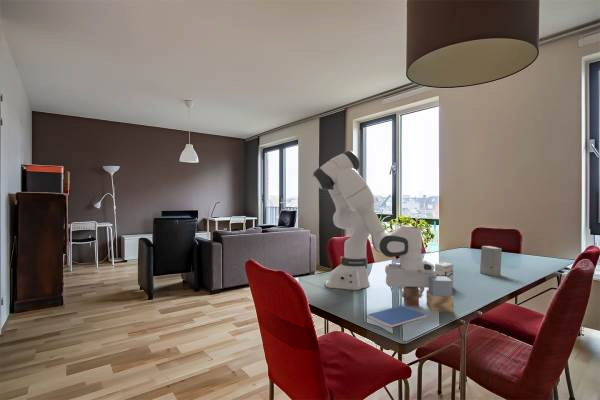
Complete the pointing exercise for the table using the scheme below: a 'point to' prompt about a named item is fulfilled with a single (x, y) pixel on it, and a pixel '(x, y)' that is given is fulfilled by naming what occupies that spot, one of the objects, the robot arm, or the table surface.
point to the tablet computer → (396, 316)
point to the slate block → (440, 286)
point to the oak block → (440, 303)
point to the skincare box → (490, 260)
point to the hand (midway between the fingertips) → (411, 297)
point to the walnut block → (411, 296)
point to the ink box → (444, 270)
